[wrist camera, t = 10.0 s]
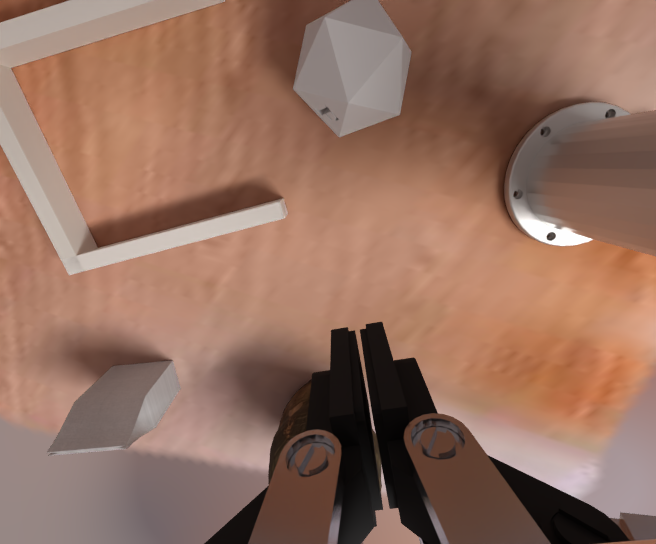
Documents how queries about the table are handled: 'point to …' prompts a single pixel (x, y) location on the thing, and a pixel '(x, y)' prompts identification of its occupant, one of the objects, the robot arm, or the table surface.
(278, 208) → the bay
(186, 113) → the table surface
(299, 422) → the shell
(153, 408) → the grey faceted angular block
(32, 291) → the table surface
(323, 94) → the die
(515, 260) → the table surface
